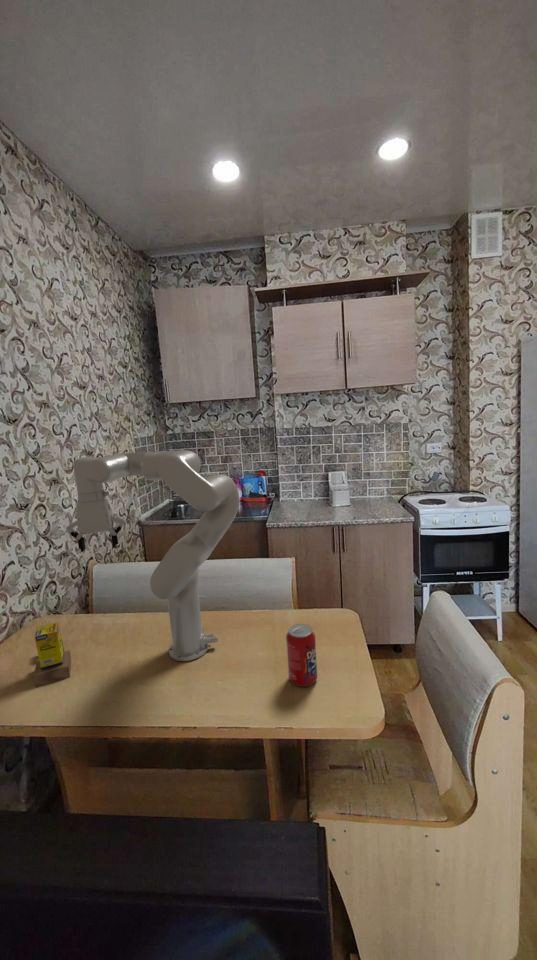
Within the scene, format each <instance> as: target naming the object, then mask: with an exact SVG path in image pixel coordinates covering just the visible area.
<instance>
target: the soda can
mask: <svg viewBox="0 0 537 960" xmlns="http://www.w3.org/2000/svg"><path fill="white" fill-rule="evenodd" d="M287 631H288V632H286V637H285V638H286V639H285V641H286V657H287V658H286V659H287V669H288V670H287V671H288V679H289V681H290V682H291V683H292V684H293V685H295V686H298V687H308V686H310V685H313V684H314V683H315V682H316V681H317V678H318V666H317V665H318V663H317V648H316V647H317V644H316V635H315V632H314V631H313V628H312V627H311V626H310V625H309V624H304V623H298V624H297V623H296V624H293V625H291V626H290V627H289V628H288V630H287Z"/></svg>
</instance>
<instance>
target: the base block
mask: <svg viewBox="0 0 537 960" xmlns="http://www.w3.org/2000/svg"><path fill="white" fill-rule="evenodd" d="M71 669H72V656H71V651H70V650H64V656H63V664H61V665H57V666H54V667H50V668H46V669H43V670H41V666H40V661H39V657H38V658H37V659H36V664H35V667H34V673H33V678H34V684H35V687H40V686H45V685H47V684H51V683H54V682H58V681H61V680H65V679H68V678H70V677H71V673H72V672H71V671H72V670H71Z"/></svg>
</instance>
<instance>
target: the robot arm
mask: <svg viewBox="0 0 537 960" xmlns="http://www.w3.org/2000/svg"><path fill="white" fill-rule="evenodd" d="M72 463H73V464H72V465H73V471H74V472H73V473H74V478H75V483H76V484H75V485H76V490H77V491H76V492H77V498H78V501H77V503H76V520H75V521H74V522H72V523H71V524H69V525H67V526H66V531H67V532H68V533H69V534H70V536H71V537H73V538H75V540H76V541H77V545H78V549H79V550H80V552H81V553H83V552H85V551H86V549H87V547H86V543H85V542H86V541H85V537H84V534H85V535H86V534H94V533H102V532H103V533H104V532H109V533H110V534H111V537H110V538H111V546H112V548H113V549H115V548H116V547H117V545H118V544H119V539H118V533H120V531H121V530H122V528H123V525H124V524H125V519H122V518H119V517H116V516H113V512H112V509H111V505H110V502H109V500H108V498H106V497H107V496H110V492H109V491H106V490H105V489H104V486H103V483H109V482H112V481H115V480H118V479H120V478H124V477H133V476H134V477H135V476H136V477H137V476H143V477H144V478H145V480H147V481H151V482H154V481H163V483H164V484H165V485H166V486H167V487H168V488H170V489H171V490H172V491H173V492H174V493H175V494H177V496H179V497H180V498H181V499H182V500H184V501H185V503H187V504H188V505H190V506H191V507H192V508H193V509H195V510H198V511H199V512H203V514H201V516H200V518H199V519H198V521H197V522H196V523H195V525H194V526H193V528H192V529H191V530H190V531H189V532H188V533H187V534H185V535H184V536H182V537H181V538H179V539H178V540H176V542H175V543H173V545H172V546H171V547H170V548H169V549H168V550H167V552H166V553H165V555H164V557H163V558H162V559H161V561H160V562H159V563H158V564H157V566H156V567H155V569H154V570H153V572H152V573H151V576H150V578H149V579H150V580H149V587H150V591H151V592H152V594H153V595H154V596H155V597H157V598H158V599H159V600H160V599H161V600H167V606H168V607H167V608H168V617H169V624H170V632H171V641H172V643H171V644H170V645H169V647H168V656H169V657H170V658H171V659H172V660H174V661H177V662H188V661H189V662H190V661H194V660H197V659H198V658H201V657H202V656H204V655H205V654H206V653H207V652H208V650H209V646H210V645H209V644H212V643H213V644H214V643H217V642H219V640H218V635H214V633H213V632H211V633H207V634H206V633H204V629H203V626H202V617H201V615H202V614H201V605H200V597H199V576H200V575H199V571H200V570H199V568H200V566H202V564H204V563H205V562H206V561H207V560H208V558H209V557H210V556H211V554H212V552H213V551H214V550H215V548H216V546H217V545H218V543H219V542H220V541H221V539H222V538H223V536H224V535H225V534H226V532H227V530H228V529H229V528H230V527H231V525H232V523H233V522H234V520H235V518H236V516H237V513H238V511H239V506H240V493H239V489H238V487H237V485H236V483H235V481H234V480H233V479H232V478H231V477H230V476H228V475H227V474H224V473H223V474H222V473H220V474H212V475H211V476H208V477H207V478H204V477H203V476H202V475H201V474H199V472H200V471H201V467H202V462H201V458H200V457H199V455H198V454H197V453H196V452H194V451H192V450H189V449H188V450H187V449H180V450H165V451H147V452H146V451H145V452H143V451H141V452H139V451H138V452H124V453H123V452H122V453H114V454H110V455H107V456H101V457H99V458H97V457H93V456H89V457H88V456H87V457H79V458H77V459H75V460H74V461H73V462H72ZM114 523H117V524H118V525H117V527H116V528H115V527H114ZM76 526H77V530H78V532H77V531H76V530H74V529H75V527H76Z"/></svg>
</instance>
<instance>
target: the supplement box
mask: <svg viewBox="0 0 537 960" xmlns="http://www.w3.org/2000/svg"><path fill="white" fill-rule="evenodd" d="M60 634H61V632H60V626H59V622H53V623H49V624H43V625H41V626H40V625H39V626H37V627H36V632H35V635H34V640H35V645H36V650H37V656H38V658H39V661H40V666H41V670H43V669H46V668H50V667H54V666H57V665H61V664H63V656H64V652H65V650H64V651H63V648H64V645H63V646H62V642H63V640H62V641H61V638H62V634H61V635H60Z"/></svg>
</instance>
